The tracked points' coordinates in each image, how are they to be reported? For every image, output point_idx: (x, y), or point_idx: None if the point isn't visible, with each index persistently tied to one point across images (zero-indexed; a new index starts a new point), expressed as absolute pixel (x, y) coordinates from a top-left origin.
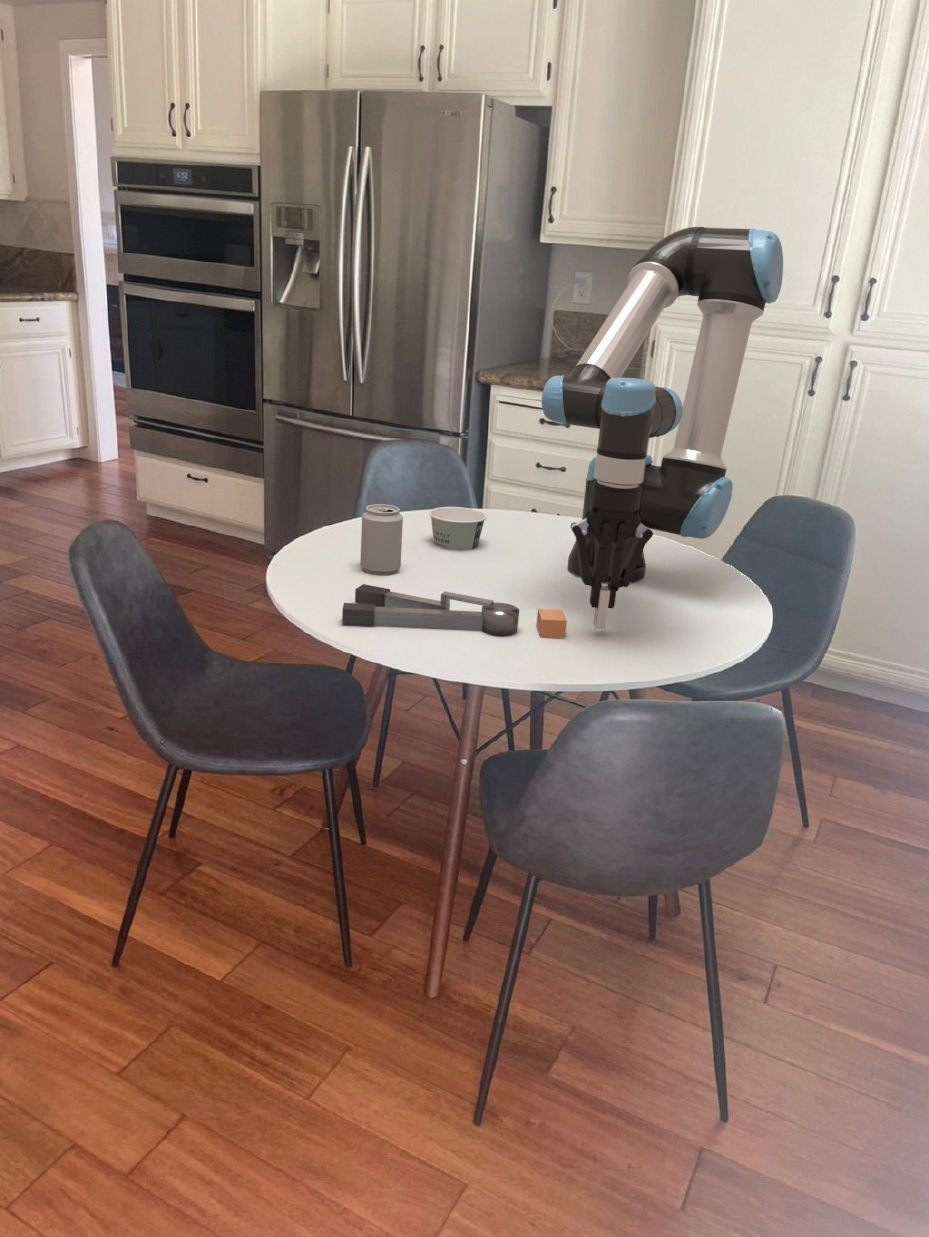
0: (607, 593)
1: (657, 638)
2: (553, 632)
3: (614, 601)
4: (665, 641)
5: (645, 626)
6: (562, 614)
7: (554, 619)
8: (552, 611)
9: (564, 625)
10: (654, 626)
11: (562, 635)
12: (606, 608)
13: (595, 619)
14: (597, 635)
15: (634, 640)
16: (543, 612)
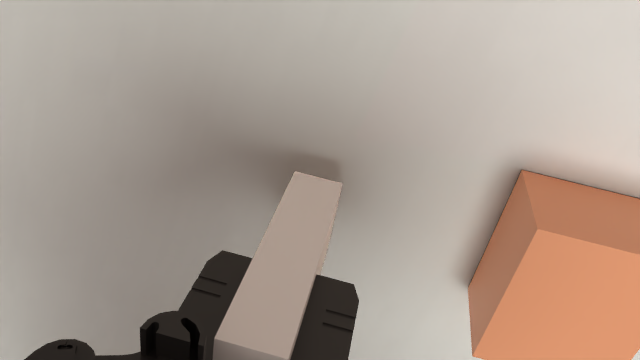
0: (240, 327)
1: (50, 106)
2: (593, 202)
3: (199, 282)
4: (18, 67)
5: (83, 230)
6: (510, 307)
7: (611, 256)
8: (545, 348)
9: (543, 213)
10: (47, 224)
11: (537, 181)
12: (268, 247)
13: (328, 238)
14: (327, 178)
15: (163, 98)
16: (610, 348)
